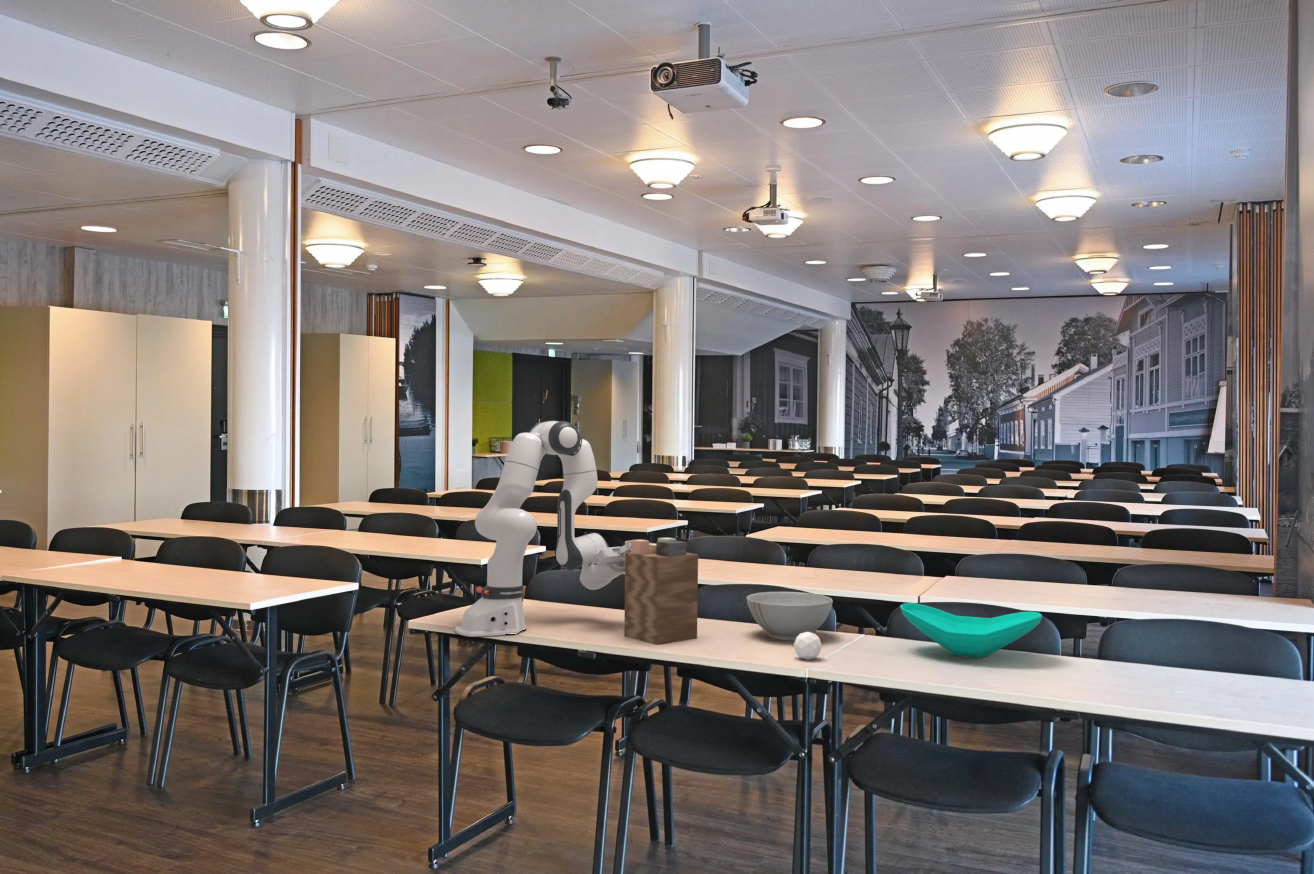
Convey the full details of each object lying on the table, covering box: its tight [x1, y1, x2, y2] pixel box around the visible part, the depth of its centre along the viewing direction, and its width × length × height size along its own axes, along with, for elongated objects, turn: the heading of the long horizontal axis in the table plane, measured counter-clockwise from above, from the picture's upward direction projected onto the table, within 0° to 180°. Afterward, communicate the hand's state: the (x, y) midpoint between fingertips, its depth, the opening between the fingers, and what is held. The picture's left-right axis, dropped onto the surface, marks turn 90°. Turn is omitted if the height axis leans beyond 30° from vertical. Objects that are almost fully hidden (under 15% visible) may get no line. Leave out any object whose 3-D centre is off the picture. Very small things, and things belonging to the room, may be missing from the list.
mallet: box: [624, 540, 688, 557], centre depth 328 cm, size 24×7×4 cm, turn 41°
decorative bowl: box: [746, 591, 834, 641], centre depth 329 cm, size 27×27×12 cm
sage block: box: [657, 537, 677, 542], centre depth 331 cm, size 4×4×4 cm
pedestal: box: [623, 552, 699, 646], centre depth 325 cm, size 16×16×26 cm
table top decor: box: [899, 602, 1043, 659], centre depth 304 cm, size 40×28×13 cm
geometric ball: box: [793, 632, 823, 661], centre depth 297 cm, size 8×8×8 cm
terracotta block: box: [630, 539, 650, 554], centre depth 324 cm, size 4×4×4 cm
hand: (637, 544), depth 334 cm, fingers closed on mallet, 3 cm apart
